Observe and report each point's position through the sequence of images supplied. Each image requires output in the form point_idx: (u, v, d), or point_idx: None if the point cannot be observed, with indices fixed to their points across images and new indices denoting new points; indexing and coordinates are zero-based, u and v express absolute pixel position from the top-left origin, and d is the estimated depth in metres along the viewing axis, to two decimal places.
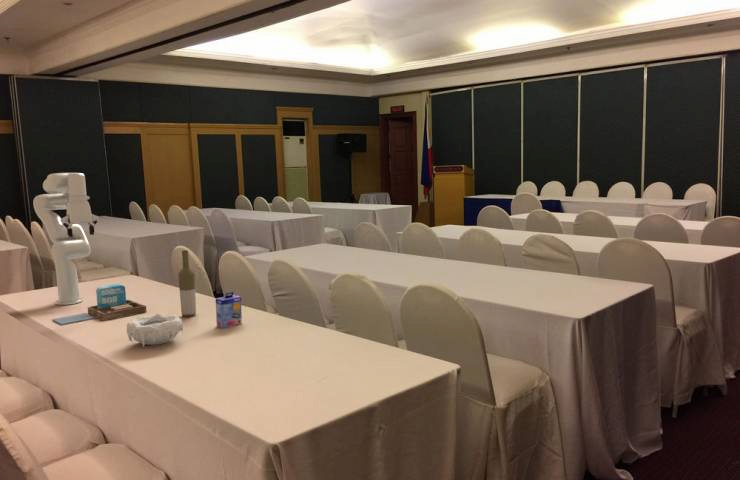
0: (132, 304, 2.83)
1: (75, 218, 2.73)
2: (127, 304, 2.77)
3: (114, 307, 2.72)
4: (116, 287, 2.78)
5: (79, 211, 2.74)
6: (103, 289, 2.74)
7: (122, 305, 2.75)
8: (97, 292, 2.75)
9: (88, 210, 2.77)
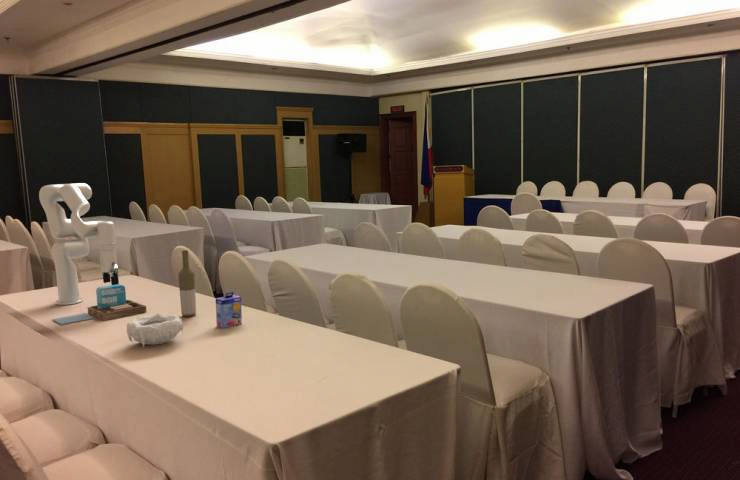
0: (132, 304, 2.83)
1: None
2: (127, 304, 2.77)
3: (113, 307, 2.72)
4: (116, 287, 2.78)
5: None
6: (103, 289, 2.74)
7: (122, 305, 2.75)
8: (97, 292, 2.75)
9: None
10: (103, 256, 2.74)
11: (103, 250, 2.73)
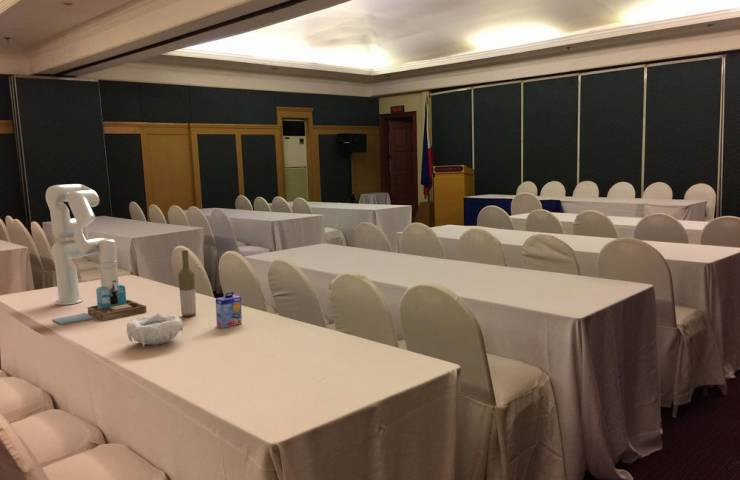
0: (132, 304, 2.83)
1: None
2: (126, 304, 2.77)
3: (113, 307, 2.72)
4: None
5: None
6: (103, 289, 2.75)
7: (121, 305, 2.75)
8: (97, 292, 2.75)
9: None
10: (104, 274, 2.75)
11: (104, 268, 2.74)
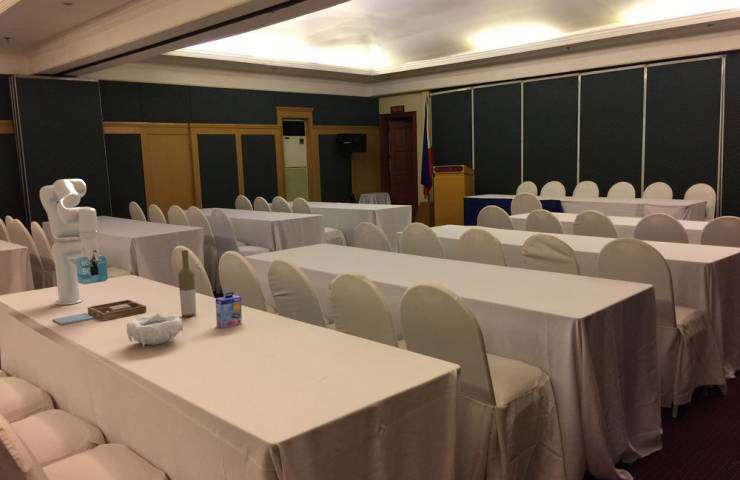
0: (132, 304, 2.83)
1: None
2: (126, 304, 2.77)
3: (112, 307, 2.72)
4: None
5: None
6: (83, 259, 2.66)
7: (121, 305, 2.75)
8: (77, 262, 2.66)
9: None
10: (84, 244, 2.66)
11: (84, 238, 2.65)
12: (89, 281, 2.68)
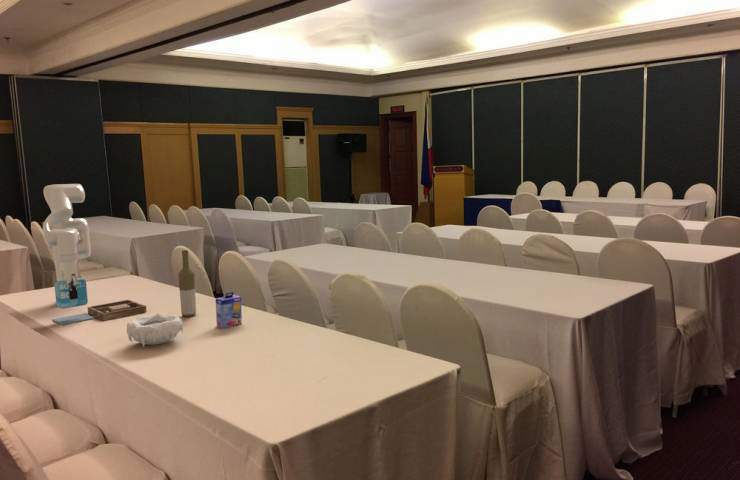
0: (132, 304, 2.83)
1: None
2: (125, 304, 2.77)
3: (112, 307, 2.72)
4: None
5: None
6: (61, 283, 2.59)
7: (120, 305, 2.75)
8: (55, 286, 2.59)
9: None
10: (63, 267, 2.59)
11: (63, 261, 2.58)
12: (68, 305, 2.61)
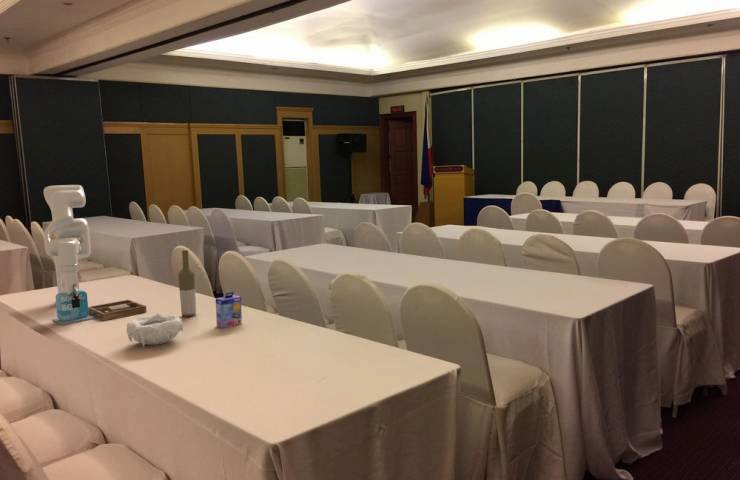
0: (132, 304, 2.83)
1: None
2: (125, 304, 2.77)
3: (111, 307, 2.72)
4: None
5: None
6: (63, 295, 2.60)
7: (120, 305, 2.75)
8: (56, 299, 2.60)
9: None
10: (64, 277, 2.60)
11: (64, 272, 2.59)
12: (69, 317, 2.62)
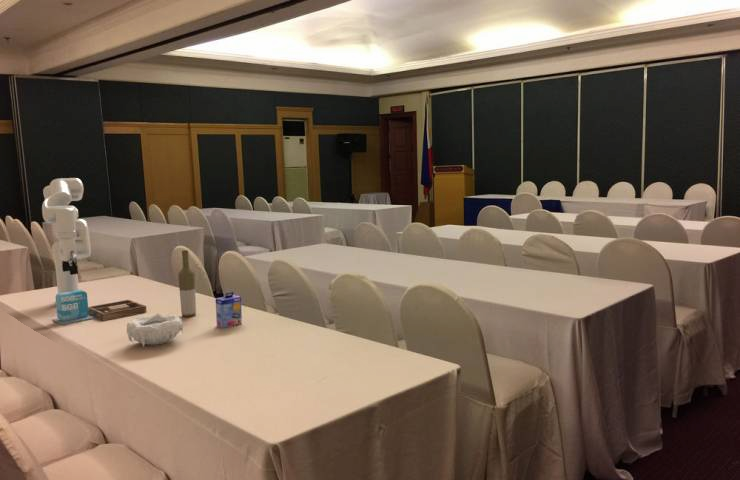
0: (132, 304, 2.83)
1: None
2: (125, 304, 2.77)
3: (111, 307, 2.72)
4: (77, 293, 2.64)
5: None
6: (63, 295, 2.60)
7: (119, 305, 2.76)
8: (56, 299, 2.60)
9: None
10: (62, 244, 2.60)
11: (62, 238, 2.59)
12: (69, 317, 2.62)
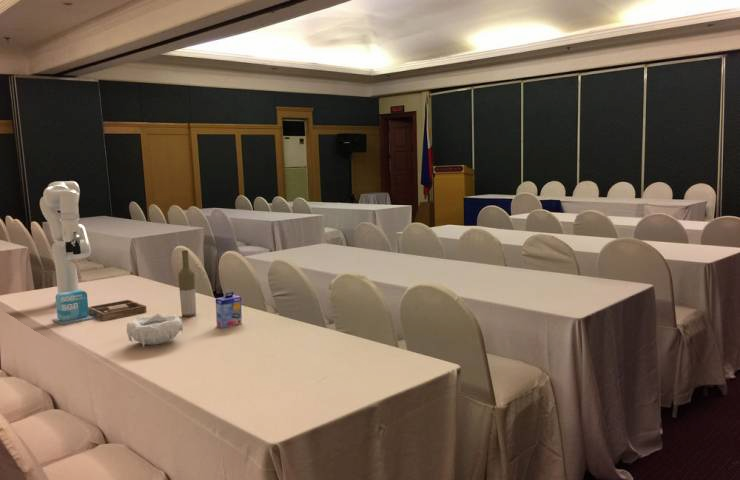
0: (132, 304, 2.83)
1: None
2: (124, 304, 2.77)
3: (110, 307, 2.73)
4: (77, 293, 2.64)
5: None
6: (63, 295, 2.60)
7: (119, 305, 2.76)
8: (56, 299, 2.60)
9: None
10: (65, 225, 2.71)
11: (65, 219, 2.70)
12: (69, 317, 2.62)
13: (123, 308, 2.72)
